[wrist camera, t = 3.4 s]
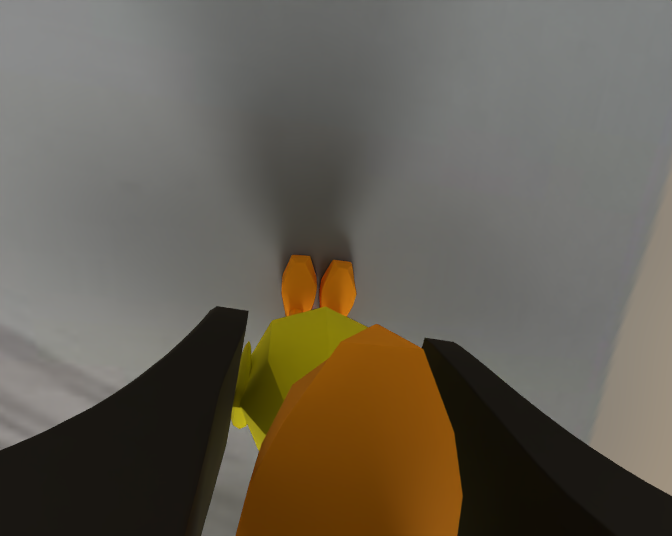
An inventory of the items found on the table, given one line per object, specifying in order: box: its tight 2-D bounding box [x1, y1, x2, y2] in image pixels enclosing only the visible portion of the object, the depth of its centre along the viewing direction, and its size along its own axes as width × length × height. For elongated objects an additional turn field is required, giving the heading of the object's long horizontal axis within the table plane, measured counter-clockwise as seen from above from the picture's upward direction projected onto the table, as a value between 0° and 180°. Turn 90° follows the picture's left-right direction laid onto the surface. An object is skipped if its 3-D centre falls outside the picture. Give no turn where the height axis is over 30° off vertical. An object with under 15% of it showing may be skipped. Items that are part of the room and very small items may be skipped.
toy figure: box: [231, 255, 463, 536], centre depth 9 cm, size 7×4×12 cm, turn 172°
